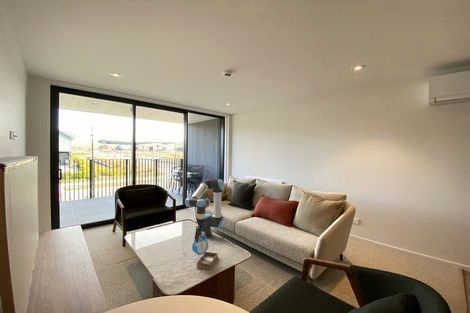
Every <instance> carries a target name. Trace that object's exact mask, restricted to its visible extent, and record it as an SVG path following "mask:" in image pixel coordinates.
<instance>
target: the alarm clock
mask: <svg viewBox="0 0 470 313" xmlns="http://www.w3.org/2000/svg"><path fill="white" fill-rule="evenodd" d="M204 238H205V239H204ZM191 247H192V251H193V252H194V253H195V254H196V255H197V256H198V257H199V256H202V255H203V254H204V253H205V252H208V251H207V250H208V248H209V241H208V239H207V238H206V236H205V235H202V236H201V237H199V246H196V239H195V238H194V240H193V242H192V245H191Z"/></svg>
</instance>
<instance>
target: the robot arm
mask: <svg viewBox="0 0 470 313" xmlns="http://www.w3.org/2000/svg"><path fill="white" fill-rule="evenodd" d="M208 190H210V191H211V192H212V193H213V214H211V213H206V209H207V208H208V207H210V205H211V200H210V199H209V198H206V197H205V198H202V196H203V195H204V194H205V192H207V191H208ZM223 191H225V182H224V180H223V179H220V178H219V179H218V178H208V179H205V180H203V181H202V182H201V183H200V184H199V186H198V187H197V189H196V190H195V191H194V193H193V194H192V196H191V197H186V198H185V201H184V203H185V204H184V205H185V207H189V208H196V219H195V221H196V224H197V225H196V228H195V233H194V239H196V246H199V237H201V236H202V235H205V236H206V239H207V238H211V237H212V236H213V230H212V228H223V226H224V223H225V217H224V216H223V215H224V214H222V193H223ZM211 227H212V228H211ZM204 239H205V238H204Z"/></svg>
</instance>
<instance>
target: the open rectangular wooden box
mask: <svg viewBox="0 0 470 313" xmlns="http://www.w3.org/2000/svg"><path fill="white" fill-rule="evenodd" d="M218 255H219V253H217V252H210V251H209V252H208V251H206V252H205V253H204V254H202V255H201V257H200V258H199V259H198V261H197V262H196V268H197V269H200V270H208V271H211V270H212V269H213V267H214V265H215V263H216V262H217V260H218V258H219V256H218Z"/></svg>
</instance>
